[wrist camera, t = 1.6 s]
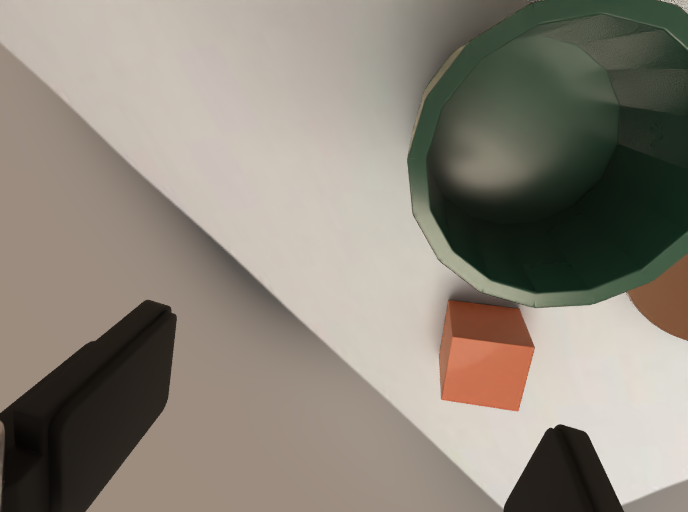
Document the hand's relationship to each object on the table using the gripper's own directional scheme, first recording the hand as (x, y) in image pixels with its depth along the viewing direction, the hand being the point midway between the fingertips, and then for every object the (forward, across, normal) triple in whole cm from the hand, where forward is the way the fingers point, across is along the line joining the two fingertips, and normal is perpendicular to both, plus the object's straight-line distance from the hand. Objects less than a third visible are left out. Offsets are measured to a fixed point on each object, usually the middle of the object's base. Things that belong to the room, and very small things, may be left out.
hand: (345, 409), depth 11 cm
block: (+21, -9, +8) cm, 25 cm away
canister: (+21, -6, -6) cm, 23 cm away
